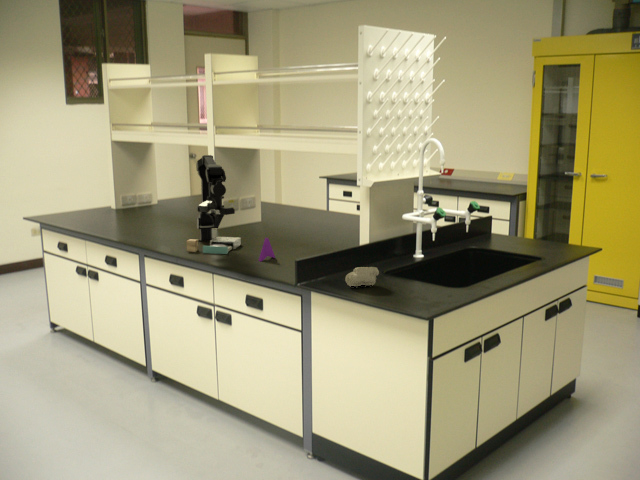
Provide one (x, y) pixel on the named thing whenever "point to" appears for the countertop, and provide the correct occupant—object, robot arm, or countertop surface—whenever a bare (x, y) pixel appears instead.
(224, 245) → the disc
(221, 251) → the tray
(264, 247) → the arrowhead
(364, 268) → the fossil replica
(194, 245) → the beech block
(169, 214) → the countertop surface
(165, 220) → the countertop surface
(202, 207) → the robot arm
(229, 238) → the block
